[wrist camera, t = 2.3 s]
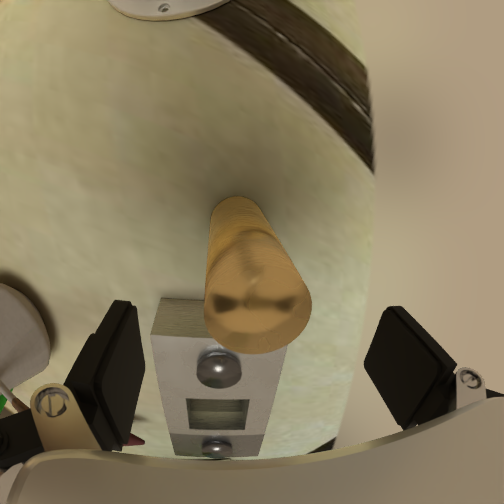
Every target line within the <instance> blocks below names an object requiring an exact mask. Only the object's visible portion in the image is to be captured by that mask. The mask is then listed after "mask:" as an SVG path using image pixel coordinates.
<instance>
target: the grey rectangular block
mask: <svg viewBox="0 0 504 504" xmlns="http://www.w3.org/2000/svg"><path fill="white" fill-rule="evenodd" d="M150 336H151V343H152V350H153V356H154V362H155V368H156V374H157V379H158V384H159V389H160V394H161V399H162V404H163V408H164V413H165V417H166V421H167V425H168V429H169V433H170V437H171V441H172V445H173V448H174V452H175V455H179V456H195V457H209V458H225V457H248V456H258V454H259V451H260V447H261V444H262V441H263V437H264V434H265V430H266V427H267V423H268V420H269V416H270V413H271V409H272V405H273V402H274V398H275V394H276V390H277V386H278V382H279V379H280V375H281V371H282V366H283V362H284V358H285V354H286V350H287V346H288V345H286V346H284V347H282V348H280V349H278V350H275V351H272V352H268V353H264V354H242V353H238V352H234V351H231V350H229V349H227V348H225V347H223V346H222V345H220V344H219V343H218V342H217V341H216V340H214V338H213V337H212V336H211V335H210V333H209V332H208V330H207V327H206V325H205V321H204V301H201V300H182V299H165V298H161V300H160V303H159V307H158V310H157V313H156V317H155V320H154V323H153V327H152V330H151V334H150Z"/></svg>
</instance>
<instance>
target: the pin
mask: <svg viewBox="0 0 504 504" xmlns="http://www.w3.org/2000/svg"><path fill="white" fill-rule="evenodd" d="M311 310H312V301H311V296H310V293H309V290H308V288H307V286H306V285H305V283H304V281H303V280H302V278H301V276H300V274H299V273H298V271H297V269H296V268H295V266H294V264H293V263H292V261H291V259H290V258H289V256H288V254H287V253H286V251H285V249H284V248H283V246H282V244H281V243H280V241H279V239H278V238H277V236H276V234H275V233H274V231H273V229H272V228H271V226H270V225H269V223H268V221H267V220H266V218H265V216H264V215H263V213H262V211H261V210H260V208H259V207H258V206H257V204H256V203H254V202H253V201H252V200H250V199H248V198H245V197H240V196H234V197H229V198H227V199H225V200H223V201H221V202H220V203H219V204H218V205H217V206H216V207H215V209H214V210H213V213H212V215H211V221H210V232H209V243H208V256H207V269H206V283H205V298H204V321H205V325H206V327H207V330H208V332H209V333H210V335H211V336H212V337H213V338H214V340H216V341H217V342H218V343H219V344H220V345H222V346H223V347H225V348H227V349H229V350H231V351H234V352H238V353H242V354H264V353H268V352H272V351H275V350H278V349H280V348H282V347H284V346H286V345H288V344H289V343H291V342H292V341H293V340H294V339H296V338H297V337H298V336H299V335H300V333H301V332H302V331H303V330H304V328H305V327H306V325H307V323H308V321H309V318H310V315H311Z"/></svg>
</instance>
